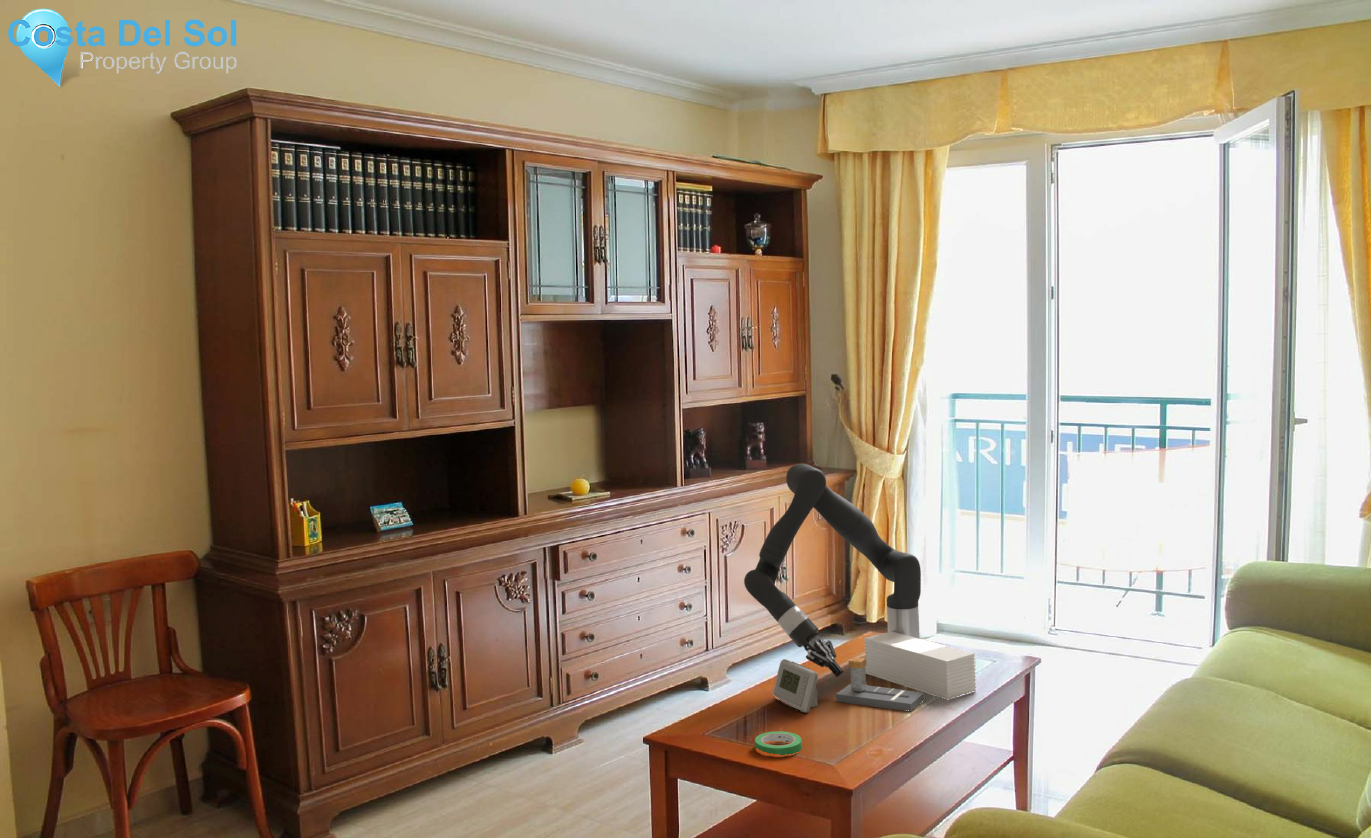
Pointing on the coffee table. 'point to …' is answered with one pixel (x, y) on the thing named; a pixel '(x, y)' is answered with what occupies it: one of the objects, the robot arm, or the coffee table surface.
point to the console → (881, 697)
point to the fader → (858, 674)
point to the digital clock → (796, 685)
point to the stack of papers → (920, 664)
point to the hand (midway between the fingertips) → (840, 674)
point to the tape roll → (779, 736)
